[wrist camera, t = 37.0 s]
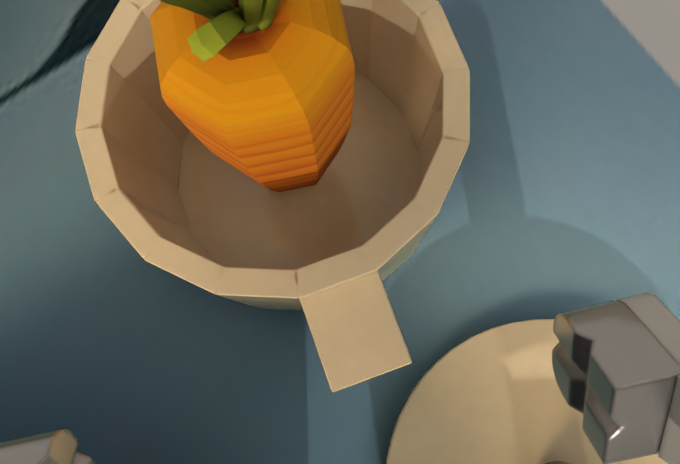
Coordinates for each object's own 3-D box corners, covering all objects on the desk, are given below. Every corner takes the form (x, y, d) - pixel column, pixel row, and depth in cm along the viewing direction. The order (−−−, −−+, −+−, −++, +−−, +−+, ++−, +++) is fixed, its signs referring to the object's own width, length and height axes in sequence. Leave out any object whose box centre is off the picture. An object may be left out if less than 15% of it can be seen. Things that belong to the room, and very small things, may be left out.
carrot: (315, 95, 24) (242, -311, 9) (380, 187, 23) (421, -95, 8) (217, 157, 23) (-30, -159, 8) (280, 253, 22) (127, 87, 8)
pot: (357, -33, 25) (357, -186, 18) (503, 315, 22) (576, 304, 15) (118, 49, 25) (17, -73, 17) (231, 416, 22) (164, 457, 14)
